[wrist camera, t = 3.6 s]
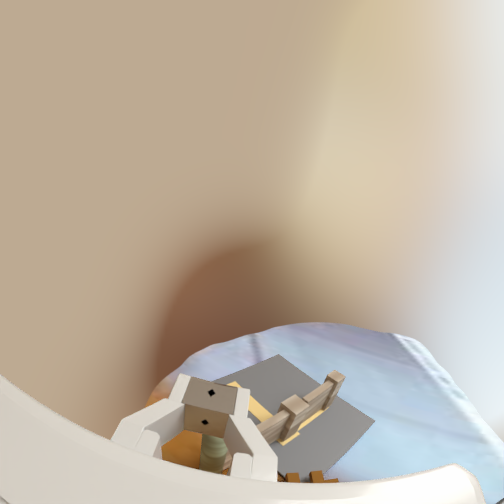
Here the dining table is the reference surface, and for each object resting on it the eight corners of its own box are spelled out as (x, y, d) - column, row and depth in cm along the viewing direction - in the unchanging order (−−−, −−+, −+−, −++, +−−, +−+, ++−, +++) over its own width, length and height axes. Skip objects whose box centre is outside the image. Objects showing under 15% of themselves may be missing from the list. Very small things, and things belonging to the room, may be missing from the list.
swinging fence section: (296, 432, 36) (328, 364, 32) (207, 484, 25) (217, 425, 21) (283, 422, 39) (310, 353, 34) (194, 469, 27) (199, 404, 23)
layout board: (374, 422, 40) (375, 420, 40) (301, 492, 26) (302, 491, 26) (278, 355, 58) (278, 353, 58) (195, 388, 44) (195, 386, 44)
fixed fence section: (331, 405, 44) (345, 376, 41) (298, 429, 37) (312, 401, 35) (321, 398, 45) (334, 369, 43) (288, 421, 39) (300, 392, 37)
